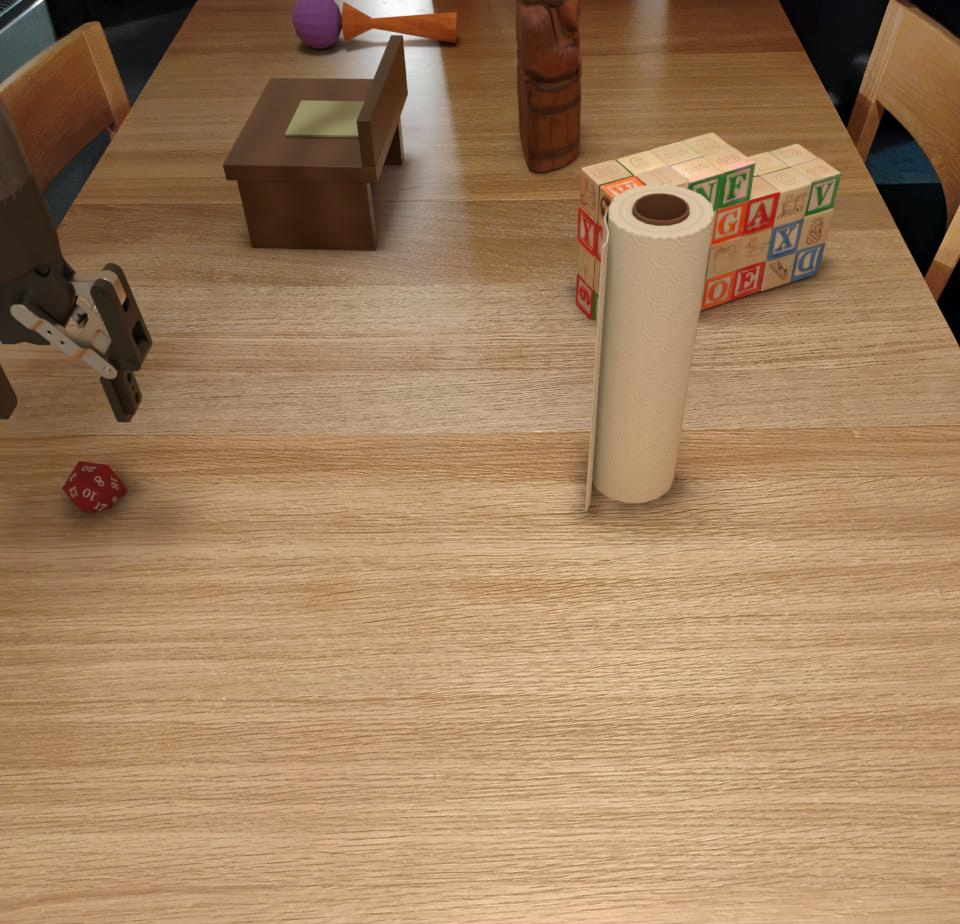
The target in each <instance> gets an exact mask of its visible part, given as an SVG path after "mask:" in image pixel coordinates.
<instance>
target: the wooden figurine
mask: <svg viewBox="0 0 960 924" xmlns="http://www.w3.org/2000/svg"><path fill="white" fill-rule="evenodd" d="M580 2H581V0H516V4H515V5H516V6H515V9H516V10H515V37H516V38H515V41H516V47H517V48H516V59H517V60H516V61H517V63H516V90H517V91H516V93H517V106H518V108H517V109H518V128H519V136H520V140H521V144H522V147H523V154H524V159H525V161H526V164H527V167H528V169H529V170H531V171H533V172H535V173H545V172H549V171H553V170H557V169H561V168H563V167H565V166H567V165H569V164H571V163H572V162H574V161H575V160H576V158H577V157H578V156H579V153H580V148H581V115H582V114H581V112H582V84H581V80H582V77H583V62H582V61H583V60H582V59H583V54H582V52H581V32H580V21H581V20H580V18H581V15H582V9H581V4H580Z"/></svg>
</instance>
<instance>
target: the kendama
mask: <svg viewBox="0 0 960 924" xmlns="http://www.w3.org/2000/svg"><path fill="white" fill-rule="evenodd" d="M291 16H292V17H291V18H292V19H291V20H292V25H293V28H294V31H295V33H296V36H297V37H298V39H300V41H302V43H303V44H305V45H306V46H308V47H311V48H312V49H323V50H325V49H327V48H329V47H331V46H333V45H334V44H335V43H336V42H337V40H338V39H340V35H341V33H342V37H343V42H344V43H345V42H348V41H350V40H352V39H354V38H356V37H358V36H361V35H362V34H365V33H367V32H369V31H371V30H379V31H384V32H385V31H386V32H390V33H394V34H395V33H396V34H400V35H407V36H413V37H417V38H424V39H430V40H435V41H441V42H446V43H450V44H451V43H452V44H457V32H458V31H457V30H458V29H457V27H458V12H457V11H449V12H438V13H437V12H436V13H435V12H434V13H423V14H411V15H399V16H398V15H397V16H385V17H384V16H383V17H371V16H369V14H366V13H365V12H363V11H361V10H359V9H357V8H356V7H354V6H352V5H350V4H348V3H347V2H345V1H343V2H342V9H341V10H340V7H339V5H338V4H337V3H336V1H335V0H297V1H296V3H295V4H294V7H293V11H292V15H291Z"/></svg>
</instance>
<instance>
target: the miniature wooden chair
mask: <svg viewBox="0 0 960 924" xmlns="http://www.w3.org/2000/svg"><path fill="white" fill-rule="evenodd" d="M404 43H405V42H404V34H391V35H390V36H389V38H388V42H387V44H386V47H385V49H384V51H383V54H382V57H381V59H380V61H379V64H378V66H377V69H376V71H375V74H374V76H373V78H322V77H321V78H316V77H315V78H312V77H311V78H310V77H309V78H308V77H306V78H305V77H303V78H302V77H270V78H269V79H268V81H267V83H266V85H265V87H264V89H263V90H262V92H261V94H260V96H259V98H258V100H257V101H256V103H255V104H254V107H253V109H252V111H251V112H250V114H249V116H248V118H247V120H246V121H245V123H244V124H243V127H242V129H241V130H240V132H239V134H238V136H237V138H236V139H235V142H234V143H233V145H232V147H231V149H230V151H229V153H228V154H227V156H226V157H225V158H224V159H225V160H224V162H223V163H222V168H223V172H224V176H225V180H226V181H235V182H236V183H237V187H238V191H239V195H240V199H241V205H242V209H243V213H244V218H245V222H246V225H247V231H248V235H249V239H250V243H251V248H265V249H266V248H269V249H270V248H271V249H278V248H279V249H305V250H306V249H308V250H309V249H310V250H345V251H348V250H349V251H376V248H377V245H378V233H377V226H376V219H375V211H374V202H373V195H372V186H371V184H378V182H379V180H380V176H381V174H382V171H383V168H384V166H403V164H404V161H405V150H404V149H405V148H404V138H403V130H402V129H403V128H402V119H401V116H402V113H403V110H404V107H405V104H406V101H407V99H408V96H409V90H408V80H407V79H408V77H407V65H406V55H405V45H404Z"/></svg>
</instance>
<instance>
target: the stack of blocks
mask: <svg viewBox="0 0 960 924" xmlns="http://www.w3.org/2000/svg"><path fill="white" fill-rule="evenodd" d="M841 177H842V172H840V171H839V170H837V169H836V168H834V167H833V166H832V165H830V164H829V163H827V162H826V161H825V160H823V158H819V157H818V156H816V155H815V154H813V153H812V152H811V151H809V150H808V149H806V148H805V147H804V146H802V144H801V145H800V144H799V143H793V144H790V145H787V146H784V147H779V148H777V149H773V150H771V151H765V152H761V153H757V154H753V155H749V156H746V154H744V153H742V152H741V151H740V150H738V149H737V148H736V147H733V146H732V145H730V144H729V143H727V142H726V141H725V140H723V139H722V138H721V136H718V135H717V134H716V133H715V132H708V133H705V134H701V135H698V136H697V135H696V136H693V137H690V138H686V139H683V140H681V141H676V142H672V143H669V144H666V145H661V146H658V147H655V148H654V147H653V148H652V149H650V150H644V151H641V152H637V153H633V154H630V155H626V156H623V157H619V158H617V159H610V160H605V161H602V162H599V163H596V164H592V165H587V166H584V167H582V168H581V169H580V186H579V189H580V190H579V191H580V192H579V205H578V208H577V232H576V233H577V234H576V237H577V262H576V264H577V266H576V268H577V269H576V271H577V272H576V284H575V286H576V288H575V304H576V305H577V306H578V308H579V309H580V310H581V311H582V313H584V314H585V316H587V318H588V319H590V320H597V316H598V301H599V285H600V269H601V253H602V237H603V222H604V216H605V214H606V212H607V210H608V207H609V206H610V204H611V202H612V201H613V199H614V198H615V196H617V195H619V194H621V193H623V192H624V191H626V190H628V189H632V188H636V187H640V186H644V185H672V186H677V187H683V188H687V189H689V190H692V191H694V192H696V193H699V194H701V195H702V196H703V197H705V198H706V199H707V200H708V201H709V202H710V203H711V204H712V208H713V212H714V222H713V229H712V235H711V242H710V248H709V255H708V261H707V268H706V274H705V281H704V287H703V294H702V300H701V307H700V312H702V311H703V310H707V309H709V308H712V307H715V306H719V305H723V304H725V303H728V302H731V301H733V300H737V299H739V298H744V297H746V296H750V295H753V294H756V293H758V292H764V291H767V290H770V289H773V288H776V287H780V286H783V285H787V284H789V283H793V282H796V281H799V280H802V279H803V280H804V279H805V278H809V277H812V276H815V275H818V273H819V270H820V266H821V263H822V259H823V255H824V251H825V248H826V241H827V240H828V237H829V236H828V235H829V232H830V230H831V229H830V228H831V225H832V221H833V220H832V219H833V216H834V211H835V209H834V206H835V202H836V199H837V194H838V190H839V186H840V181H841Z"/></svg>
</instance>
